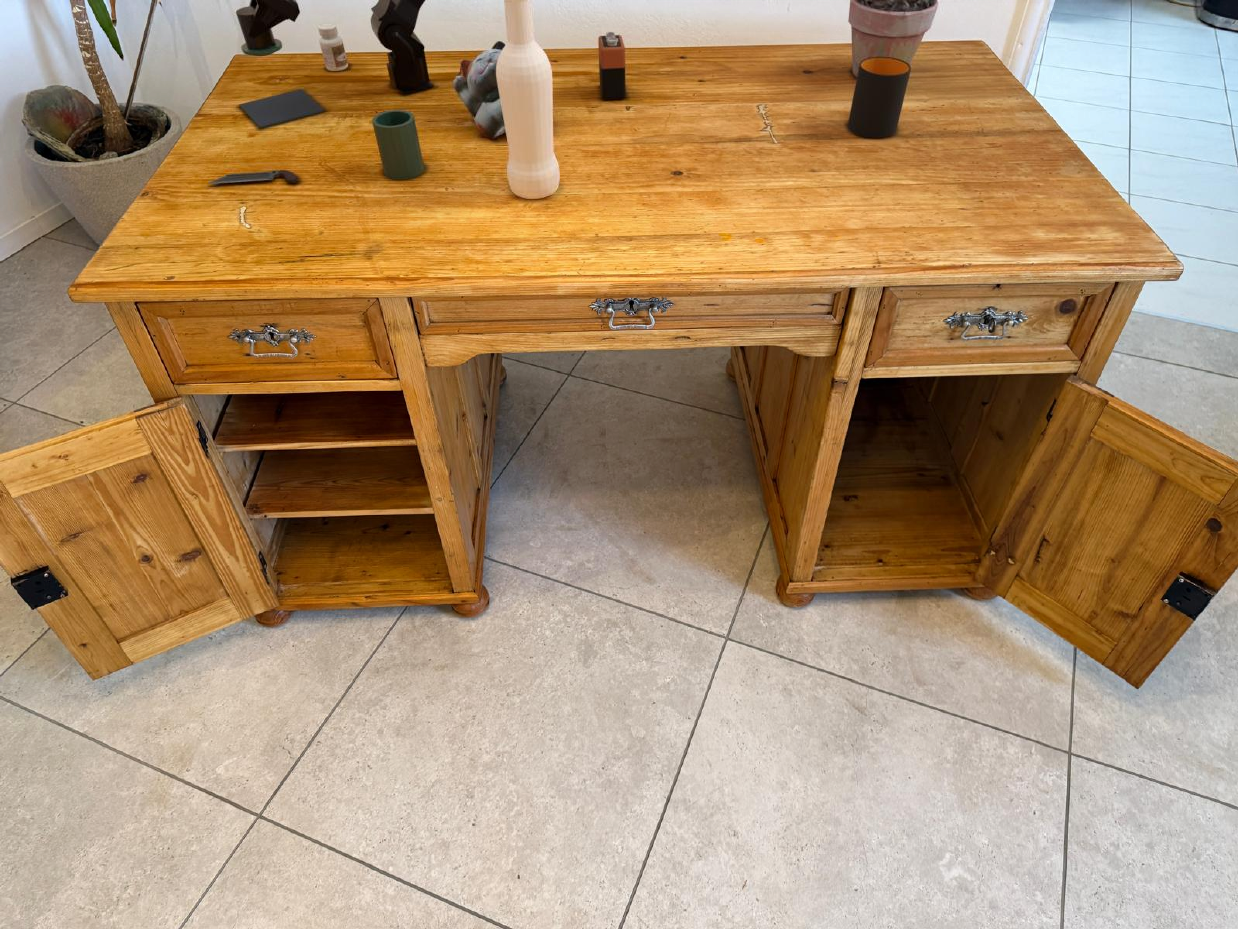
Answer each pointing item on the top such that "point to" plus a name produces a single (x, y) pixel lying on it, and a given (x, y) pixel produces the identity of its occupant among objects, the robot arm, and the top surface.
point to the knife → (256, 177)
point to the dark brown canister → (260, 44)
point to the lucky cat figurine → (482, 91)
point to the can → (398, 144)
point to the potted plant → (888, 28)
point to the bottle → (527, 106)
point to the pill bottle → (332, 48)
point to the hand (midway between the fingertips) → (248, 31)
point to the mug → (878, 97)
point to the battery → (612, 66)
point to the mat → (281, 108)
